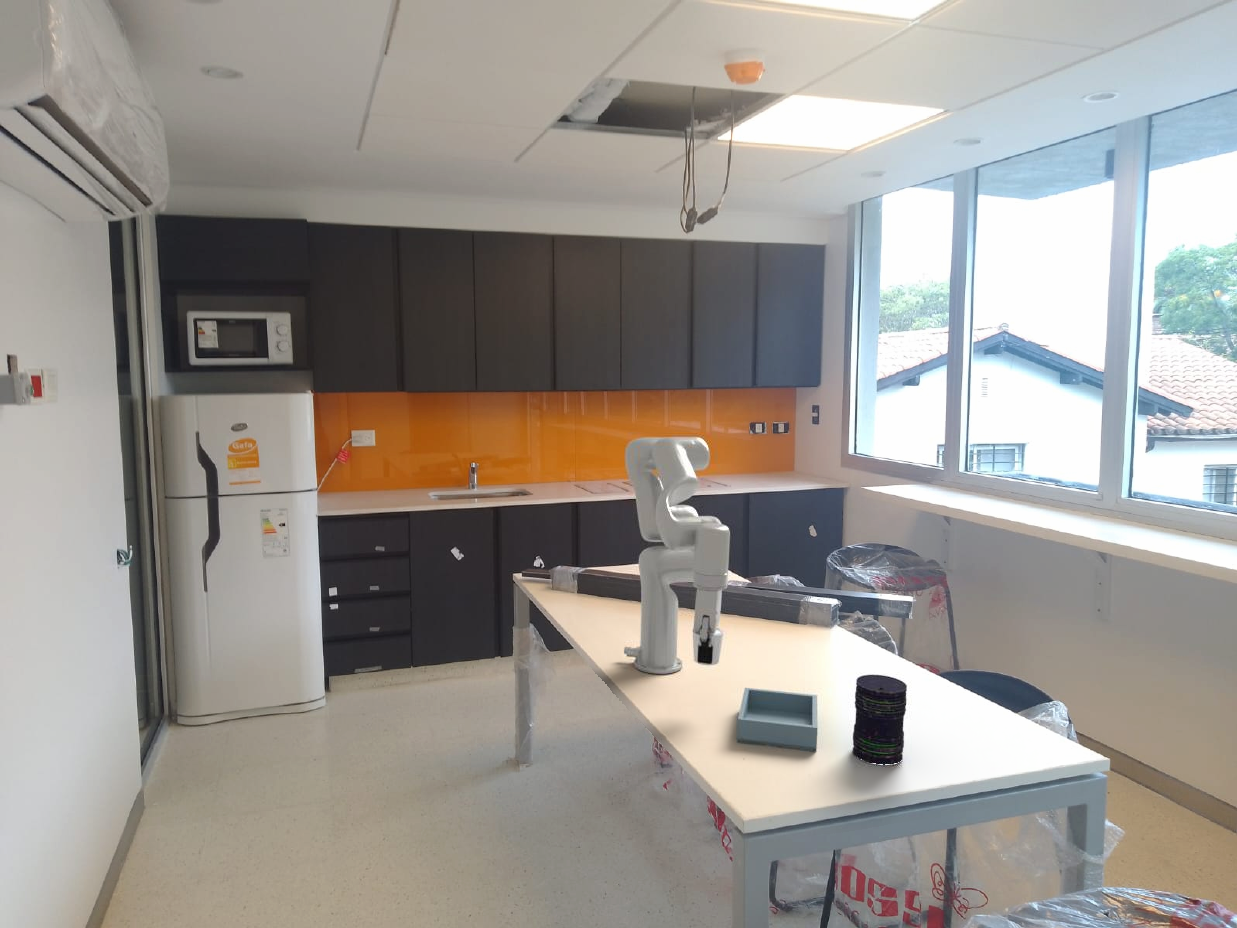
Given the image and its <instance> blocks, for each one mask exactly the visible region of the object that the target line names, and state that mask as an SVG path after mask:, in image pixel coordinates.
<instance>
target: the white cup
mask: <svg viewBox="0 0 1237 928" xmlns="http://www.w3.org/2000/svg"><path fill="white" fill-rule="evenodd" d="M708 632H711V630H709V629H708ZM699 636H700V629H699V631H697V632H694V631H693V630H692V645H693V646H692V647H693V661H694V662H695V663H697V664H699V665H702V666H714V665H718V664H719V662H720V656H721V650H722V649H721V648H722V644H723V643H722V642H723V636H724V630H723V629H721V628H720V627H719V628H718V627H717V629H716V632H715V633H714V634H713V635H712V646H713V656H712V663H711V664H706V663H698V661H697V659H698V644H699ZM708 637H709V638H710V635H708Z"/></svg>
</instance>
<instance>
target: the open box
mask: <svg viewBox="0 0 1237 928" xmlns="http://www.w3.org/2000/svg"><path fill="white" fill-rule="evenodd" d="M737 717H738V718H737V731H736V743H742V744H748V743H749V745H759V746H765V745H770V746H769V747H773V746H776V747H775V748H781V747H782V748H783V749H790V750H791V749H793V750H798V749H802V750H801V751H807V750H808V751H807V752H815V751H816V752H817V747H818V744H817V743H818V695H817V694H811V693H799V692H791V691H790V692H789V691H780V690H771V689H763V688H751V687H744V690H743V695H742V699H741V703H740V709H739V712H738V716H737Z"/></svg>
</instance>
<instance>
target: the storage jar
mask: <svg viewBox="0 0 1237 928" xmlns="http://www.w3.org/2000/svg"><path fill="white" fill-rule="evenodd" d="M855 684H856V686H855V693H854V699H855V701H854V708H855V722H854V725H853V733H852V745H853V748H852V755H854V757H855V756H856V757H855V758H857V757H858V758H859V759H858V758H857V759H858V760H860V759H862V760H864V761H866V762H869V763H876V764H883V765H885V764H894V763H898V762H900V761H901V760H902V761H903V758H904V757H903V753H904V746H905V732H904V718H905V715H906V711H907V708H906V706H907V691H908V689H907V687H908V686H907V684H906V682H904V681H903V680H901V679H898V678H895V677H893V676H888V675H885V674H884V675H883V674H882V675H881V674H865V675H861V676H858V677H857V678H856V682H855ZM862 760H861V761H862ZM864 761H863V762H864ZM902 761H901V762H902ZM866 762H865V763H866ZM901 762H900V763H901ZM869 763H868V764H869Z"/></svg>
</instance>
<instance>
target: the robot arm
mask: <svg viewBox="0 0 1237 928" xmlns="http://www.w3.org/2000/svg"><path fill="white" fill-rule="evenodd" d="M624 453H625V454H624V461H625V462H624V463H625V469H626V472H627V476H628V478H629V481H630V484H631V486H632V487H633V491H634V495H635V503H636V510H637V519H638V525H639V530H640V534H641V537H642V538H643V540H644V541H646V542H651V543H652V542H654V543H663V544H664V545H654V546H650V547H647V548H645V549H643V550H642V551H641V553H640V554H639V556H638V571H639V572H638V573H639V577H640V587H641V589H640V590H641V593H640V595H641V596H640V597H641V601H640V604H641V605H640V609H641V610H640V614H641V615H640V641H639V642H640V644H639V645H640V646H636V647H632V646H624V648H623V649H624V650H623V654H624V655H626V657H629V658H635V659H634V660H633V666H634V668H635V669H638V670H639V671H641V672H644V673H648V674H656V675H657V674H659V675H664V674H666V675H667V674H672V673H673V674H674V673H676V672H678V671H680V670H682V668H683V660H681V659H680V658H678V655H677V654H678V623H679V600H678V596H677V594H676V593H675V591H674V590H673V589H672V588H671V587H670V584H675V583H688V582H689V583H691V582H692V583H693V584H692V586H693V587H694V588H696V593H695V605H694V617H693V618H694V619H693V620H694V621H693V626H692V627H693V629H692V632H693V631H694V632H697V631H699V629H700V636H699V644H698V659H697V661H698V663H706V664H711V663H712V656H713V646H712V635H713V634H714V633H715V632H716V629H717V628H718V626H719V623H720V617H721V611H722V609H721V608H722V594H723V593H722V591H724V590H725V589H728V579H729V577H728V576H729V564H730V563H729V558H730V541H731V531H730V528H729V527H728V526H727V525H725V524H722V522H721V520H720V519H719V518H718V517H715V516H712V515H699V514H698V512H697V510H696V509H695V508H694V507H693V506H691V505H687V504H680V503H682V502H685V501H686V500H688V499H690V498H691V497H692V496H694V495H695V494H696V493H697V491H698V488H699V479H698V477H697V475H696V472H695V471H703V470H705V469H706V468H707V467H708V466H709V464H710V460H711V458H710V457H711V453H710V449H709V445H708V444H707V443H706V441H705V440H704V439H703V438H701V437H698V436H669V437H660V436H659V437H651V436H650V437H640V438H635V439H632V440H631V441H629V442H628V444H627V446H626V448H625V452H624ZM653 470H654V471H656V473H657V474H658V475H657V474H656V473H655V472H654V471H653ZM708 629H709V630H711V632H708ZM708 635H710V638H709V637H708ZM698 663H697V664H698Z"/></svg>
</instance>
